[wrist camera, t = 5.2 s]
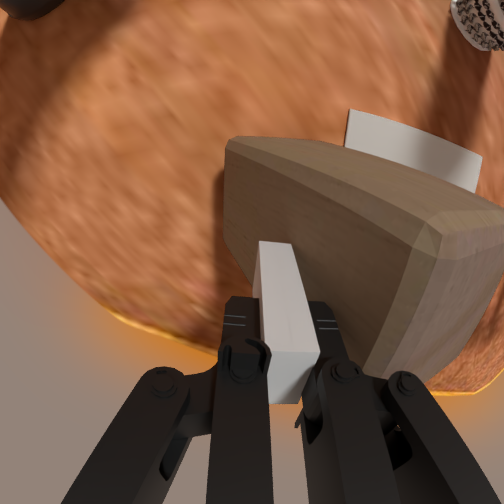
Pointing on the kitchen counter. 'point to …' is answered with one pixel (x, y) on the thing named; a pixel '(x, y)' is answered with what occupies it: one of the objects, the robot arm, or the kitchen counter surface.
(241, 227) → the wooden block
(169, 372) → the robot arm
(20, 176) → the kitchen counter surface
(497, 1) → the decorative candle
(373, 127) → the mat
